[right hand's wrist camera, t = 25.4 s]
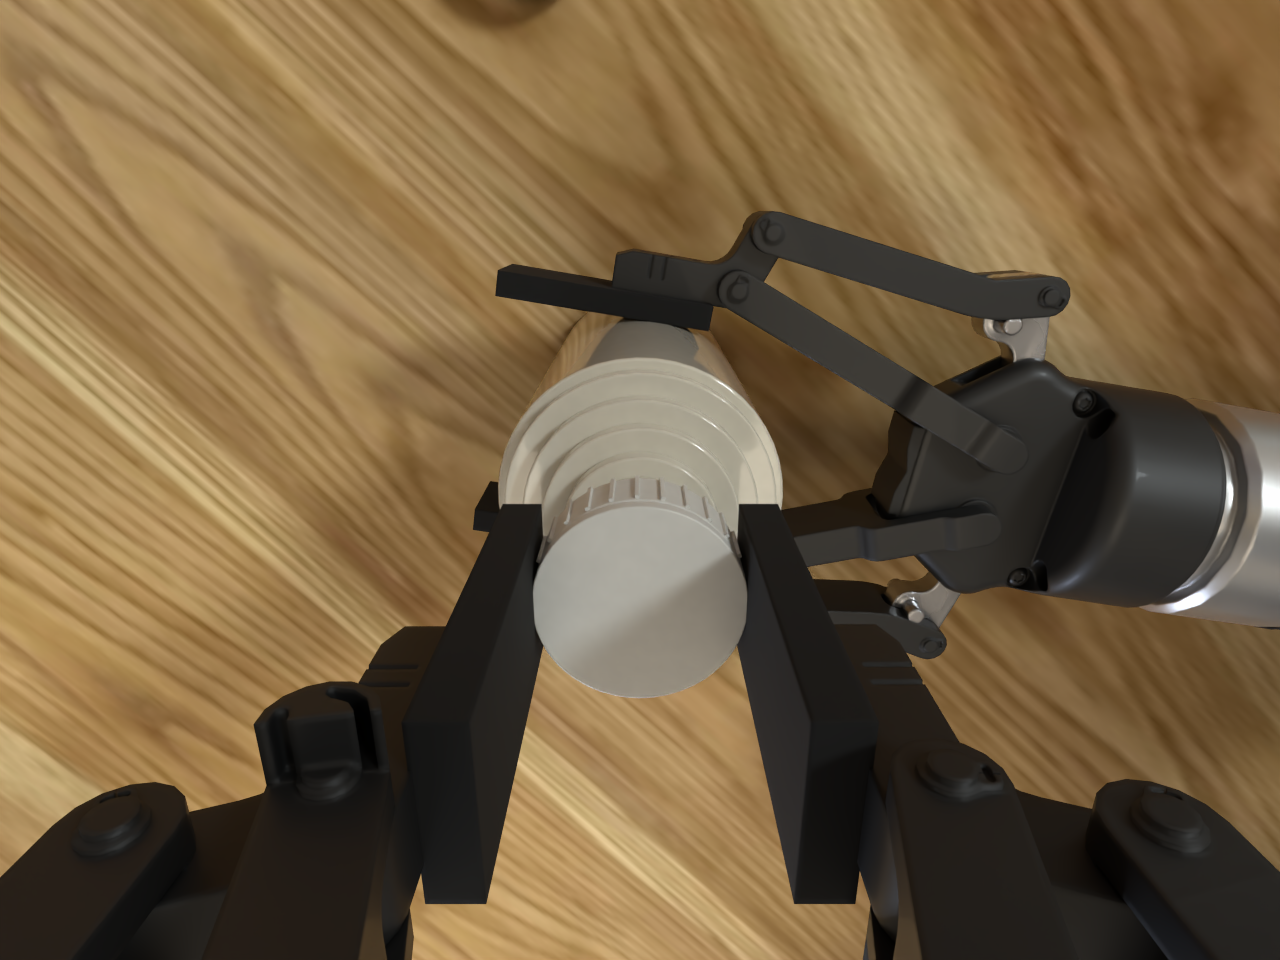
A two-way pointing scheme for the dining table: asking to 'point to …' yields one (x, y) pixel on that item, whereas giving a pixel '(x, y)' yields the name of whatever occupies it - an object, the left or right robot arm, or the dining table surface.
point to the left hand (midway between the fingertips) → (493, 397)
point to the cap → (639, 589)
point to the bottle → (640, 421)
